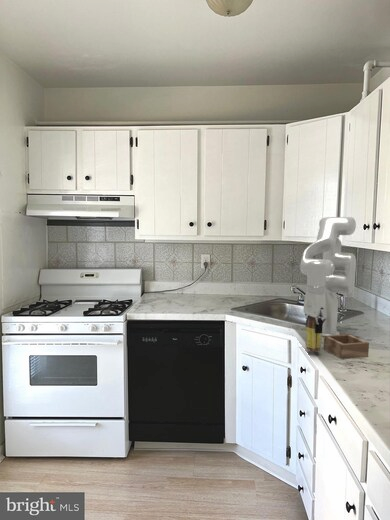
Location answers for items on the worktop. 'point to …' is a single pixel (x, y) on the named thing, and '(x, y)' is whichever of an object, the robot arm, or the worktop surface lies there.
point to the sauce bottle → (312, 335)
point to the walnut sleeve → (346, 346)
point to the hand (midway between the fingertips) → (313, 330)
